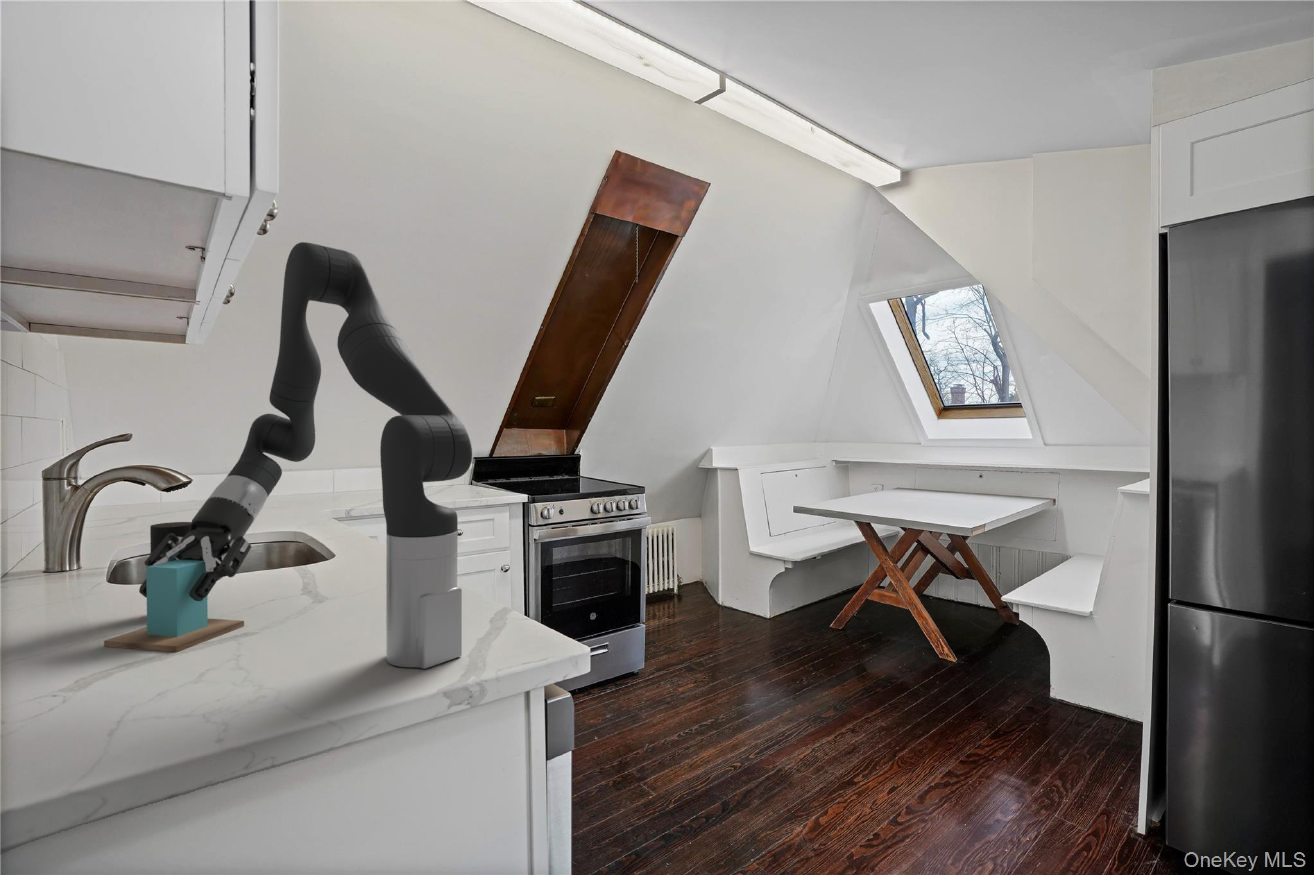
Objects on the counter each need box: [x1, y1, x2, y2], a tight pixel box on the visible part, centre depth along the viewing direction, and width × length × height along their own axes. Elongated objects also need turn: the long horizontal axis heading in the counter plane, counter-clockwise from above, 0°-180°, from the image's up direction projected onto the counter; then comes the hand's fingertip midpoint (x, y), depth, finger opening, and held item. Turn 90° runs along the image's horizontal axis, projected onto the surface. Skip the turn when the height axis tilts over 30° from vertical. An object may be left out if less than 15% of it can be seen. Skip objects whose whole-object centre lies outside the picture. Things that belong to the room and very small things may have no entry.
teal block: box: [145, 560, 209, 637], centre depth 99 cm, size 5×5×10 cm
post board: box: [103, 618, 245, 653], centre depth 99 cm, size 12×12×8 cm
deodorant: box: [149, 521, 192, 562], centre depth 109 cm, size 6×6×15 cm
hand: (169, 596), depth 97 cm, fingers open, 8 cm apart
